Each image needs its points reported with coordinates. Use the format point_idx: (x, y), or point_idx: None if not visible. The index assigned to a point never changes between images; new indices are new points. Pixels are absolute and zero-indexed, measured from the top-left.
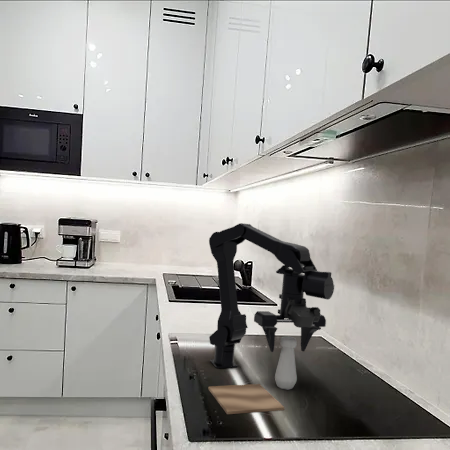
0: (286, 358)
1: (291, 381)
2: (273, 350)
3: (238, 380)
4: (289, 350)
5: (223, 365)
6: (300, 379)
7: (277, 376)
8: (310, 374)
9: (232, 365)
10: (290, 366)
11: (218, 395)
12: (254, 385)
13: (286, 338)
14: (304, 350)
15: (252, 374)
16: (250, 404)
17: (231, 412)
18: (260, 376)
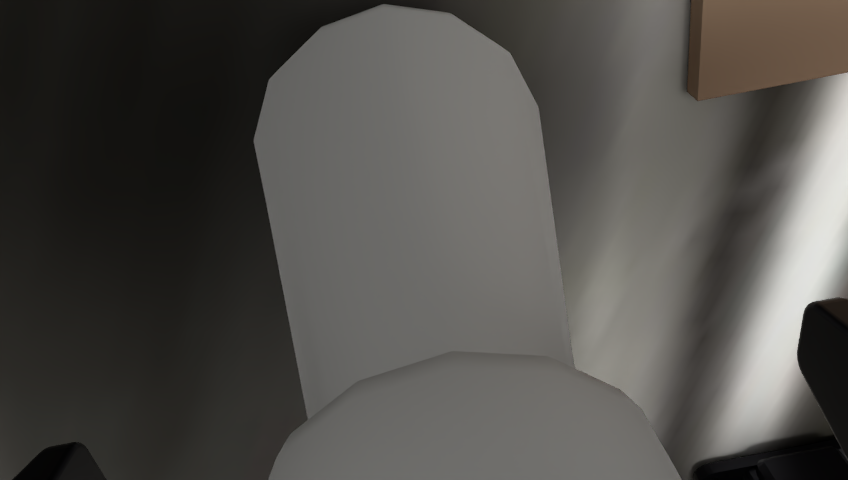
0: (496, 217)
1: (364, 11)
2: (835, 317)
3: (824, 219)
4: (466, 336)
5: (840, 453)
6: (159, 304)
7: (536, 114)
8: (24, 425)
9: (740, 477)
10: (402, 119)
11: None
12: (777, 51)
13: None
14: (39, 459)
15: (620, 360)
16: None
17: None
18: None
